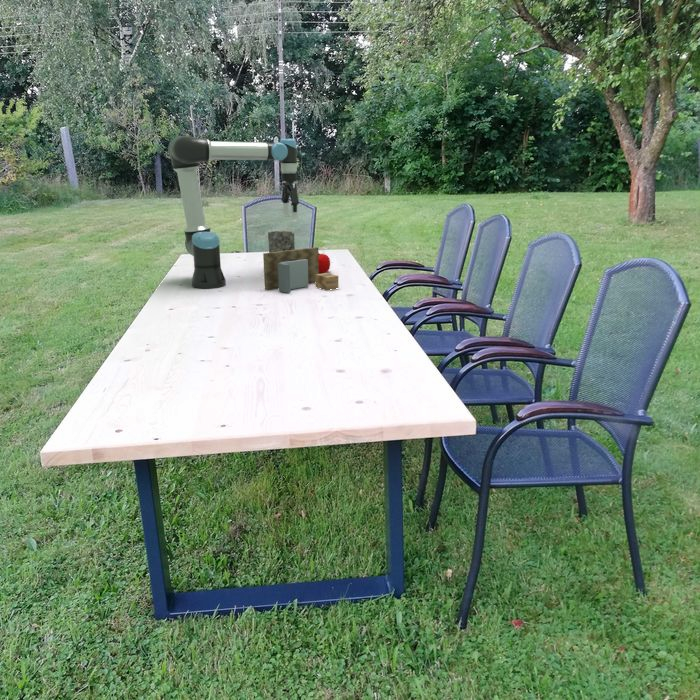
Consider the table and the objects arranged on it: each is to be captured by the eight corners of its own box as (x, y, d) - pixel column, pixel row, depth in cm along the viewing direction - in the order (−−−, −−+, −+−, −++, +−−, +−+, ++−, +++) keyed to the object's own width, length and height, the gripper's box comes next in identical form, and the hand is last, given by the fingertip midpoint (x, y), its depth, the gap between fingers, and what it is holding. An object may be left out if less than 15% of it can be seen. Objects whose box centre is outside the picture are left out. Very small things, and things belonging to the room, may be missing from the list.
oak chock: (338, 289, 279) (338, 275, 277) (327, 291, 275) (327, 277, 274) (326, 286, 286) (326, 272, 284) (315, 287, 282) (315, 274, 280)
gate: (286, 292, 270) (285, 264, 267) (278, 290, 275) (277, 262, 271) (314, 288, 279) (314, 261, 275) (306, 285, 284) (305, 259, 280)
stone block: (269, 270, 321) (267, 231, 315) (269, 268, 328) (268, 229, 322) (295, 270, 322) (294, 230, 316) (295, 267, 329) (294, 229, 323)
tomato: (336, 273, 315) (335, 252, 312) (317, 276, 306) (316, 255, 303) (320, 270, 322) (320, 250, 319) (301, 273, 314) (301, 252, 311)
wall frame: (267, 290, 277) (265, 253, 272) (264, 289, 278) (263, 253, 273) (319, 282, 293) (318, 247, 288) (316, 281, 295) (315, 247, 290)
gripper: (305, 173, 292) (305, 219, 298) (288, 171, 314) (290, 215, 320) (289, 173, 289) (290, 220, 296) (274, 171, 311) (275, 215, 318)
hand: (290, 217), depth 308 cm, fingers open, 13 cm apart
